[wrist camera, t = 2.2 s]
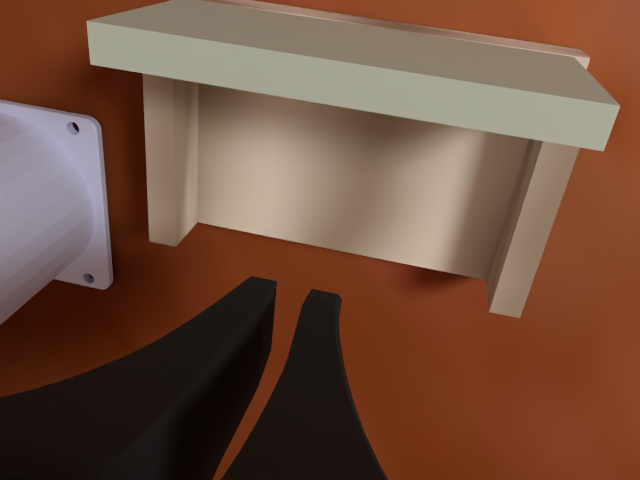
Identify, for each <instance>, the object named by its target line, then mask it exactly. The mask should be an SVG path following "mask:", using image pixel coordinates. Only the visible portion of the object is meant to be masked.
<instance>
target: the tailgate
mask: <svg viewBox="0 0 640 480" xmlns="http://www.w3.org/2000/svg"><path fill="white" fill-rule="evenodd" d="M87 30H88V42H89V54H90V64H91V65H97V66H103V67H108V68H114V69H120V70H126V71H132V72H138V73H144V74H150V75H156V76H162V77H168V78H173V79H179V80H185V81H191V82H197V83H203V84H209V85H215V86H221V87H227V88H233V89H238V90H244V91H250V92H256V93H262V94H268V95H274V96H280V97H286V98H292V99H298V100H303V101H309V102H315V103H321V104H327V105H333V106H339V107H345V108H351V109H357V110H363V111H368V112H374V113H380V114H386V115H392V116H398V117H404V118H410V119H416V120H422V121H428V122H433V123H439V124H445V125H451V126H457V127H463V128H469V129H475V130H481V131H487V132H493V133H498V134H504V135H510V136H516V137H522V138H528V139H534V140H540V141H546V142H552V143H558V144H563V145H569V146H575V147H581V148H587V149H593V150H599V151H604V148H605V146H606V143H607V140H608V138H609V135H610V132H611V130H612V127H613V124H614V122H615V119H616V116H617V114H618V111H619V108H620V105H619V104H618V103H617V102H616V101H615V100H614V99H613V98H612V97H611V96H610V94H609V93H608V92H607V91H606V90H605V89H604V88H603V87H602V86H601V85H600V84H599V83H598V82H597V81H596V80H595V79H594V78H593V77H592V76H591V74H590V73H589V72H588V71H587V70H586V69H585V68H584V67H583V66H582V65H581V64H580V63H579V62H578V61H577V60H576V59H575V58H574V57H571V56H564V55H557V54H551V53H544V52H537V51H531V50H524V49H517V48H511V47H504V46H498V45H491V44H484V43H478V42H471V41H464V40H458V39H451V38H444V37H438V36H431V35H424V34H418V33H411V32H404V31H398V30H391V29H385V28H378V27H371V26H365V25H358V24H351V23H345V22H338V21H331V20H325V19H318V18H311V17H305V16H298V15H292V14H285V13H278V12H272V11H265V10H258V9H252V8H245V7H238V6H232V5H225V4H218V3H212V2H205V1H198V0H171V1H167V2H163V3H159V4H155V5H150V6H146V7H142V8H138V9H134V10H130V11H126V12H122V13H117V14H113V15H109V16H105V17H101V18H97V19H93V20H89V21H87Z"/></svg>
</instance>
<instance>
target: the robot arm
mask: <svg viewBox="0 0 640 480" xmlns="http://www.w3.org/2000/svg"><path fill="white" fill-rule="evenodd" d="M73 122H74V123H76V124H77V125H78V127H79V132H78V131H76V130H75V129H74V127H73V125H72V124H73ZM89 274H90V275H92V276H93V278H94V279H93V278H91V277H90V276H89ZM53 279H56V280H60V281H65V282H70V283H74V284H79V285H83V286H88V287H92V288H97V289H107V288H108V287H109V286H110V285H111V284H112V283H113V269H112V256H111V244H110V231H109V219H108V206H107V193H106V181H105V168H104V155H103V143H102V130H101V126H100V124H99V123H98V121H97V120H96V119H95V118H93V117H91V116H88V115H82V114H77V113H71V112H66V111H60V110H55V109H49V108H44V107H38V106H33V105H27V104H22V103H16V102H10V101H5V100H0V325H1V324H2V323H3V322H4V321H5V320H6V319H8V318H9V317H10V316H11V315H12V314H13V313H15V312H16V311H17V310H18V309H19V308H20V307H22V306H23V305H24V304H25V303H26V302H27V301H28V300H30V299H31V298H32V297H33V296H34V295H35V294H37V293H38V292H39V291H40V290H41V289H42V288H43V287H45V286H46V285H47V284H48V283H49V282H50V281H52V280H53ZM276 287H277V281H272V280H268V279H263V278H258V277H253V276H251V277H250V278H248V279H247V280H245V281H244V282H243V283H241V284H240V285H239V286H237V287H236V288H235V289H233V290H232V291H231V292H229V293H228V294H227V295H225V296H224V297H223V298H221V299H220V300H218V301H217V302H216V303H214V304H213V305H211V306H210V307H209V308H207V309H206V310H204V311H203V312H201V313H200V314H199V315H197V316H196V317H194V318H193V319H191V320H190V321H188V322H187V323H185V324H183V325H182V326H180V327H178V328H177V329H175V330H174V331H172V332H170V333H169V334H167V335H165V336H164V337H162V338H160V339H159V340H157V341H155V342H153V343H151V344H149V345H147V346H145V347H143V348H141V349H139V350H137V351H135V352H133V353H131V354H129V355H127V356H125V357H122V358H120V359H118V360H115V361H113V362H110V363H108V364H105V365H103V366H100V367H98V368H95V369H93V370H90V371H88V372H86V373H83V374H80V375H77V376H74V377H71V378H68V379H65V380H62V381H59V382H56V383H53V384H50V385H46V386H43V387H40V388H36V389H33V390H29V391H25V392H21V393H17V394H13V395H9V396H4V397H0V480H212V479H213V477H214V474H215V472H216V470H217V468H218V466H219V463H220V462H221V460H222V458H223V456H224V454H225V452H226V450H227V448H228V446H229V444H230V442H231V440H232V438H233V436H234V434H235V432H236V430H237V428H238V426H239V424H240V422H241V420H242V418H243V416H244V414H245V412H246V410H247V408H248V406H249V404H250V402H251V400H252V398H253V396H254V394H255V392H256V390H257V388H258V385H259V383H260V380H261V377H262V374H263V372H264V369H265V366H266V363H267V360H268V357H269V354H270V351H271V344H272V332H273V321H274V310H275V298H276ZM341 303H342V299H341V298H340V296H339V295H338V294H334V293H329V292H325V291H320V290H315V289H312V290H311V291H310V293H309V294H308V296H307V298H306V299H305V301H304V303H303V305H302V309H301V312H300V316H299V319H298V323H297V327H296V330H295V334H294V337H293V341H292V345H291V348H290V352H289V355H288V359H287V361H286V364H285V367H284V370H283V372H282V374H281V376H280V378H279V380H278V382H277V384H276V386H275V388H274V390H273V393H272V395H271V397H270V398H269V400H268V402H267V404H266V406H265V408H264V410H263V412H262V414H261V416H260V418H259V419H258V421H257V423H256V425H255V426H254V428H253V430H252V432H251V433H250V435H249V437H248V438H247V440H246V442H245V444H244V445H243V447H242V449H241V450H240V452H239V453H238V455H237V456H236V458H235V459H234V461H233V462H232V464H231V465H230V467H229V468H228V470H227V471H226V473H225V474H224V476H223V477H222V479H221V480H388V479H387V477H386V475H385V473H384V472H383V470H382V468H381V466H380V464H379V462H378V460H377V458H376V456H375V454H374V451H373V449H372V447H371V445H370V443H369V441H368V438H367V436H366V434H365V432H364V429H363V427H362V424H361V421H360V419H359V416H358V413H357V410H356V407H355V404H354V401H353V398H352V395H351V391H350V388H349V384H348V380H347V376H346V371H345V367H344V362H343V357H342V349H341V342H340V333H339V315H340V309H341Z"/></svg>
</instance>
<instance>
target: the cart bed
mask: <svg viewBox="0 0 640 480" xmlns="http://www.w3.org/2000/svg"><path fill="white" fill-rule="evenodd" d="M169 1H171V0H169ZM198 1H205V2H212V3H218V4H225V5H232V6H238V7H245V8H252V9H258V10H265V11H272V12H278V13H285V14H292V15H298V16H305V17H311V18H318V19H325V20H331V21H338V22H345V23H351V24H358V25H365V26H371V27H378V28H385V29H391V30H398V31H404V32H411V33H418V34H424V35H431V36H438V37H444V38H451V39H458V40H464V41H471V42H478V43H484V44H491V45H498V46H504V47H511V48H517V49H524V50H531V51H537V52H544V53H551V54H557V55H564V56H571V57H574V58H575V59H576V60H577V61H578V62H579V63H580V64H581V65H582V66H583V67H584V68H585V69H586V70H587V67H588V64H589V61H590V58H589V57H588V56H587V55H586V54H585V53H584V52H583V51H582V50H581V49H576V48H569V47H562V46H555V45H549V44H542V43H535V42H528V41H522V40H515V39H508V38H502V37H495V36H488V35H481V34H475V33H468V32H461V31H454V30H448V29H441V28H434V27H428V26H421V25H414V24H407V23H401V22H394V21H387V20H380V19H374V18H367V17H360V16H354V15H347V14H340V13H333V12H327V11H320V10H313V9H306V8H300V7H293V6H286V5H280V4H273V3H266V2H259V1H253V0H198ZM143 96H144V121H145V146H146V170H147V195H148V220H149V241H150V242H155V243H160V244H165V245H170V246H175V247H176V246H177V245H178V244H179V243H180V241H181V240H182V239H183V238H184V237H185V236H186V235H187V234H188V232H189V231H190V230H191V229H192V228H193V227H194V226H195V225H196V223H197V222H199V223H204V224H209V225H214V226H219V227H224V228H229V229H234V230H239V231H244V232H249V233H254V234H259V235H264V236H269V237H274V238H279V239H284V240H289V241H294V242H299V243H304V244H309V245H314V246H319V247H324V248H329V249H334V250H339V251H343V252H348V253H353V254H358V255H363V256H368V257H373V258H378V259H383V260H388V261H393V262H398V263H403V264H408V265H413V266H418V267H423V268H428V269H433V270H438V271H443V272H448V273H453V274H458V275H463V276H468V277H473V278H478V279H483V280H486V282H487V294H488V305H489V312H492V313H497V314H502V315H507V316H512V317H516V318H520V316H521V314H522V311H523V308H524V305H525V302H526V299H527V297H528V294H529V291H530V288H531V285H532V282H533V279H534V277H535V274H536V271H537V268H538V265H539V262H540V259H541V257H542V254H543V251H544V248H545V245H546V242H547V240H548V237H549V234H550V231H551V228H552V225H553V222H554V220H555V217H556V214H557V211H558V208H559V205H560V203H561V200H562V197H563V194H564V191H565V188H566V185H567V183H568V180H569V177H570V174H571V171H572V168H573V165H574V163H575V160H576V157H577V154H578V151H579V148H580V147H575V146H569V145H563V144H558V143H552V142H546V141H540V140H534V139H528V138H522V137H516V136H510V135H504V134H498V133H493V132H487V131H481V130H475V129H469V128H463V127H457V126H451V125H445V124H439V123H433V122H428V121H422V120H416V119H410V118H404V117H398V116H392V115H386V114H380V113H374V112H368V111H363V110H357V109H351V108H345V107H339V106H333V105H327V104H321V103H315V102H309V101H303V100H298V99H292V98H286V97H280V96H274V95H268V94H262V93H256V92H250V91H244V90H238V89H233V88H227V87H221V86H215V85H209V84H203V83H197V82H191V81H185V80H179V79H173V78H168V77H162V76H156V75H150V74H144V73H143Z"/></svg>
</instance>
